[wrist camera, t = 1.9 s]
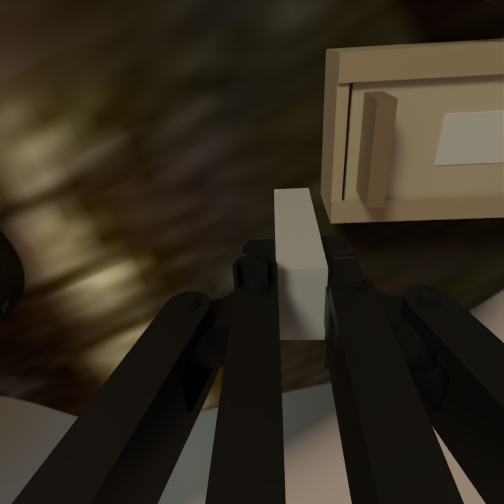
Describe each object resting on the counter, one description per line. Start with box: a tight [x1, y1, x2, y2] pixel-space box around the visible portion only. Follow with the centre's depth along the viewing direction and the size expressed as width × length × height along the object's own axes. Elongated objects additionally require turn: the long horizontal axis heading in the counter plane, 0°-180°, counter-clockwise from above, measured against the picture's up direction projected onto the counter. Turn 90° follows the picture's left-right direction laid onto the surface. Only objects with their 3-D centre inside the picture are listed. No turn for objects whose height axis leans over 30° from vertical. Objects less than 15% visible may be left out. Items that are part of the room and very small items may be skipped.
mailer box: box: [321, 38, 504, 223], centre depth 29 cm, size 16×12×6 cm
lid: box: [343, 74, 504, 208], centre depth 26 cm, size 14×10×4 cm
